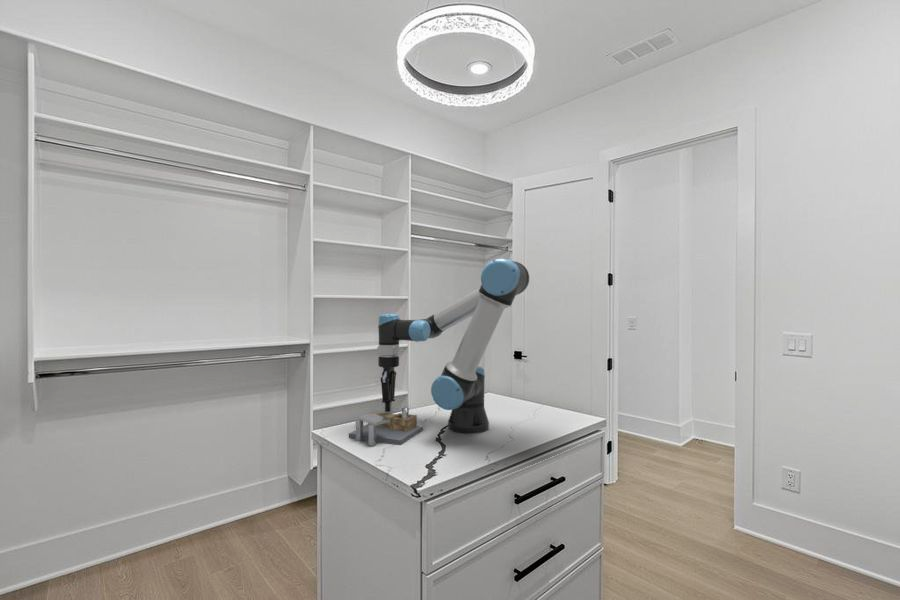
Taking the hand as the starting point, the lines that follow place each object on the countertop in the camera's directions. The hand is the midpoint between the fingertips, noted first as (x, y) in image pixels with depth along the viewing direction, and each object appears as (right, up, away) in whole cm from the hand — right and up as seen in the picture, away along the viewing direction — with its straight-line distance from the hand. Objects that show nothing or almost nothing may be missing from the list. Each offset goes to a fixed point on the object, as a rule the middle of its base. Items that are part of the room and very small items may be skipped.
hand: (388, 419), depth 163 cm
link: (+1, -1, -4) cm, 4 cm away
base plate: (+1, -3, -8) cm, 8 cm away
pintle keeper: (-1, -3, -11) cm, 12 cm away
